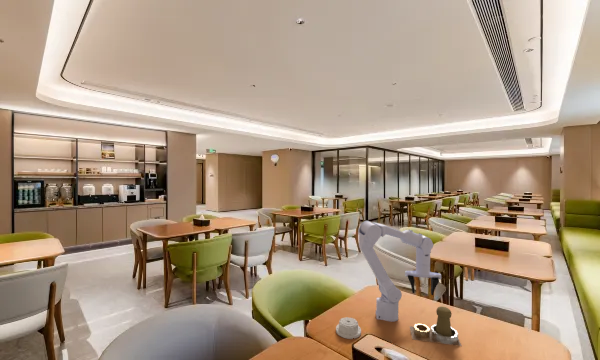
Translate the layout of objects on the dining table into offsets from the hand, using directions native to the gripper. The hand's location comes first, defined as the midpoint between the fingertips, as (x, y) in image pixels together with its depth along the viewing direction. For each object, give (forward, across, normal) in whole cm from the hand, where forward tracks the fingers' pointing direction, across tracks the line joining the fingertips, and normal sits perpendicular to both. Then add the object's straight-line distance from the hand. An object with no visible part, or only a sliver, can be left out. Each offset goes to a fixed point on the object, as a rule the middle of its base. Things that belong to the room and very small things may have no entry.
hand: (422, 293), depth 126 cm
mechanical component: (+11, +31, +20) cm, 38 cm away
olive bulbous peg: (+10, -5, +16) cm, 19 cm away
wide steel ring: (+9, -5, +16) cm, 19 cm away
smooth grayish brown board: (+10, -2, +16) cm, 19 cm away
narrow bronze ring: (+9, +3, +16) cm, 19 cm away
